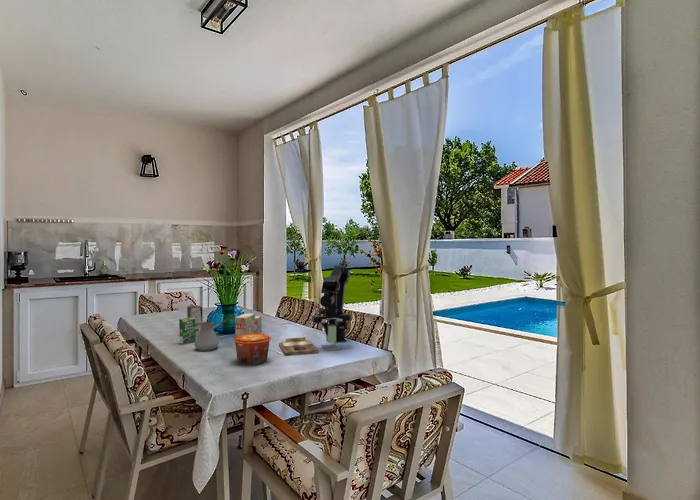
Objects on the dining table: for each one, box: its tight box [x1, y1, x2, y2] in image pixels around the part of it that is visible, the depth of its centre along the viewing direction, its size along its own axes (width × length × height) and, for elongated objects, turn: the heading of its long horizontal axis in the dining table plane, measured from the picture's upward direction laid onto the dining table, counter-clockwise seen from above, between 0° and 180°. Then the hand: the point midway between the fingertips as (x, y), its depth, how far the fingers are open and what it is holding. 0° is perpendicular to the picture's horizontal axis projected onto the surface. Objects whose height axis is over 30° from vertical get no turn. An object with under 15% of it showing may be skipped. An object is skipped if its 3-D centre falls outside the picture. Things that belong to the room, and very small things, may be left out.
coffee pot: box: [193, 315, 237, 352], centre depth 213 cm, size 21×12×15 cm, turn 131°
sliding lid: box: [280, 336, 313, 348], centre depth 213 cm, size 14×9×3 cm, turn 108°
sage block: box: [325, 324, 337, 344], centre depth 212 cm, size 4×4×8 cm
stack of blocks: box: [234, 313, 263, 339], centre depth 239 cm, size 21×6×12 cm, turn 169°
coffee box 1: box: [186, 304, 203, 336], centre depth 239 cm, size 9×6×16 cm
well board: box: [278, 340, 320, 357], centre depth 209 cm, size 16×19×2 cm
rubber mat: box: [321, 343, 341, 352], centre depth 212 cm, size 7×9×1 cm
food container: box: [233, 332, 272, 366], centre depth 190 cm, size 16×16×11 cm
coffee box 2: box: [178, 317, 197, 345], centre depth 222 cm, size 8×3×13 cm, turn 147°
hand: (331, 335), depth 212 cm, fingers closed on sage block, 4 cm apart
